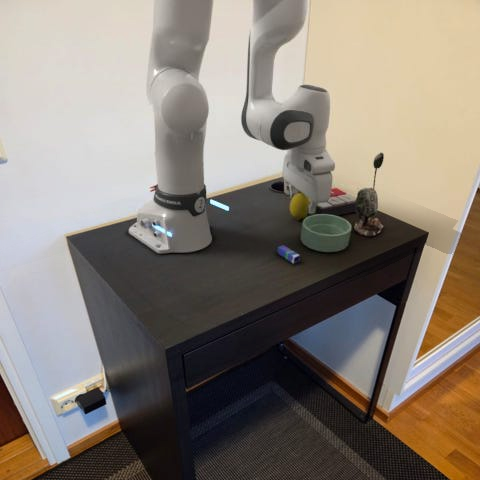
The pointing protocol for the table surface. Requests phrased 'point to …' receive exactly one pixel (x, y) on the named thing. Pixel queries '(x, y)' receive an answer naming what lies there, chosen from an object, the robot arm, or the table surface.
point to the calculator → (336, 204)
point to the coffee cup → (287, 188)
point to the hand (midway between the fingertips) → (302, 205)
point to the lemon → (299, 206)
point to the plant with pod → (368, 206)
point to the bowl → (325, 232)
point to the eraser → (288, 254)
